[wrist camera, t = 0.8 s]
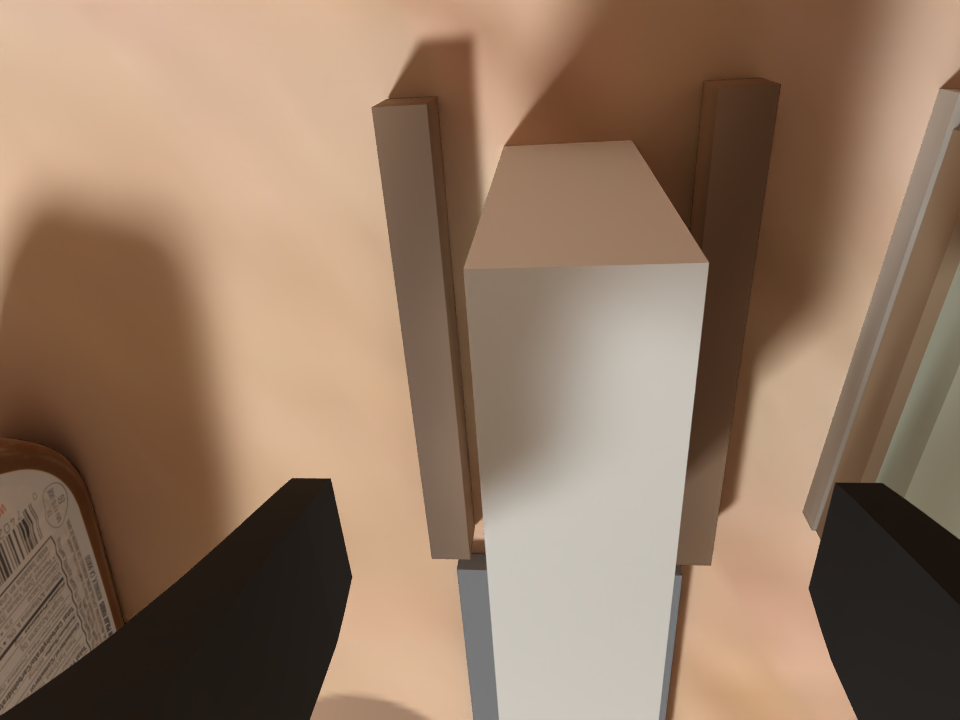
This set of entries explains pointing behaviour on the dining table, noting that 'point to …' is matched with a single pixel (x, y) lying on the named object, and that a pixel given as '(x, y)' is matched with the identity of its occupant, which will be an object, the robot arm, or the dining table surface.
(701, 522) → the rack
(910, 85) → the dining table surface
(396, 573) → the dining table surface
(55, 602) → the brown rounded slab
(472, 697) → the mat
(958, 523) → the olive rounded oblong piece
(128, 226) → the dining table surface
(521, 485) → the block
